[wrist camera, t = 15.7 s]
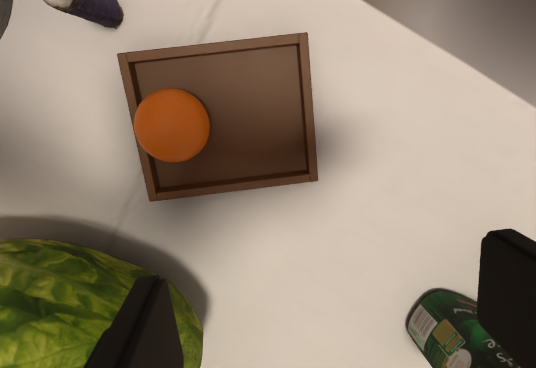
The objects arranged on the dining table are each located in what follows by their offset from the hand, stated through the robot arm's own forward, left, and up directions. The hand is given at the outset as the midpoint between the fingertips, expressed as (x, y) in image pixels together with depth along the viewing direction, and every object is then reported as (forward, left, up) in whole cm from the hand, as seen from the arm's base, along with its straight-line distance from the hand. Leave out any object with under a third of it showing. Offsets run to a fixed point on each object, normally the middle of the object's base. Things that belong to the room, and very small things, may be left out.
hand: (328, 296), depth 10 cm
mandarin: (-8, +3, -22) cm, 24 cm away
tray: (-4, +3, -26) cm, 27 cm away
